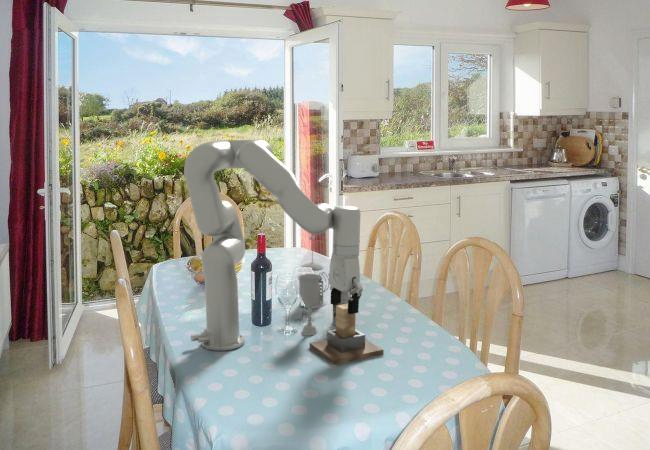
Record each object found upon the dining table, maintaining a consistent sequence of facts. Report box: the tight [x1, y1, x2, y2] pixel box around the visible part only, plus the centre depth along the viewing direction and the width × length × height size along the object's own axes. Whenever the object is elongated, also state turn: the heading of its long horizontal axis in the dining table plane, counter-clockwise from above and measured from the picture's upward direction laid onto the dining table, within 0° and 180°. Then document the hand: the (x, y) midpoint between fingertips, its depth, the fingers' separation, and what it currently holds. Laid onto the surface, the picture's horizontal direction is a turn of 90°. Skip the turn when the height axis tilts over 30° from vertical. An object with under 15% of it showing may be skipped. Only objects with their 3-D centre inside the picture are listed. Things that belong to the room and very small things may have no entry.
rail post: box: [335, 303, 356, 338], centre depth 183 cm, size 4×4×12 cm
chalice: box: [297, 273, 322, 336], centre depth 198 cm, size 7×7×18 cm
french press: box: [298, 235, 330, 309], centre depth 226 cm, size 10×12×25 cm
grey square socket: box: [326, 328, 366, 353], centre depth 183 cm, size 8×8×4 cm
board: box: [309, 338, 384, 366], centre depth 184 cm, size 16×15×2 cm
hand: (344, 308), depth 182 cm, fingers open, 9 cm apart
